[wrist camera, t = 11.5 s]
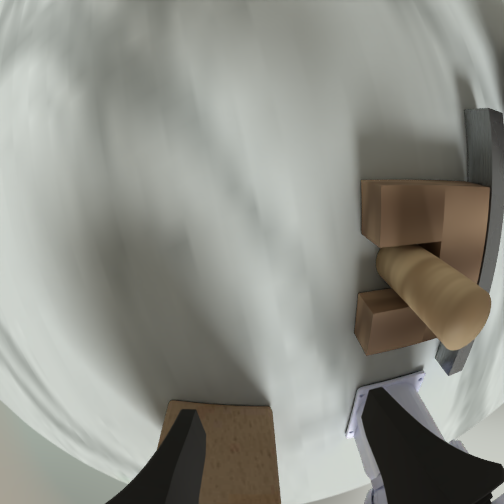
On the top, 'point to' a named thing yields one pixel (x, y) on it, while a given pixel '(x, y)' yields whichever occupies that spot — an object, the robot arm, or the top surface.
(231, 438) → the wooden block
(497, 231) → the rail
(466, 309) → the dowel
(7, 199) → the top surface
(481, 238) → the block
